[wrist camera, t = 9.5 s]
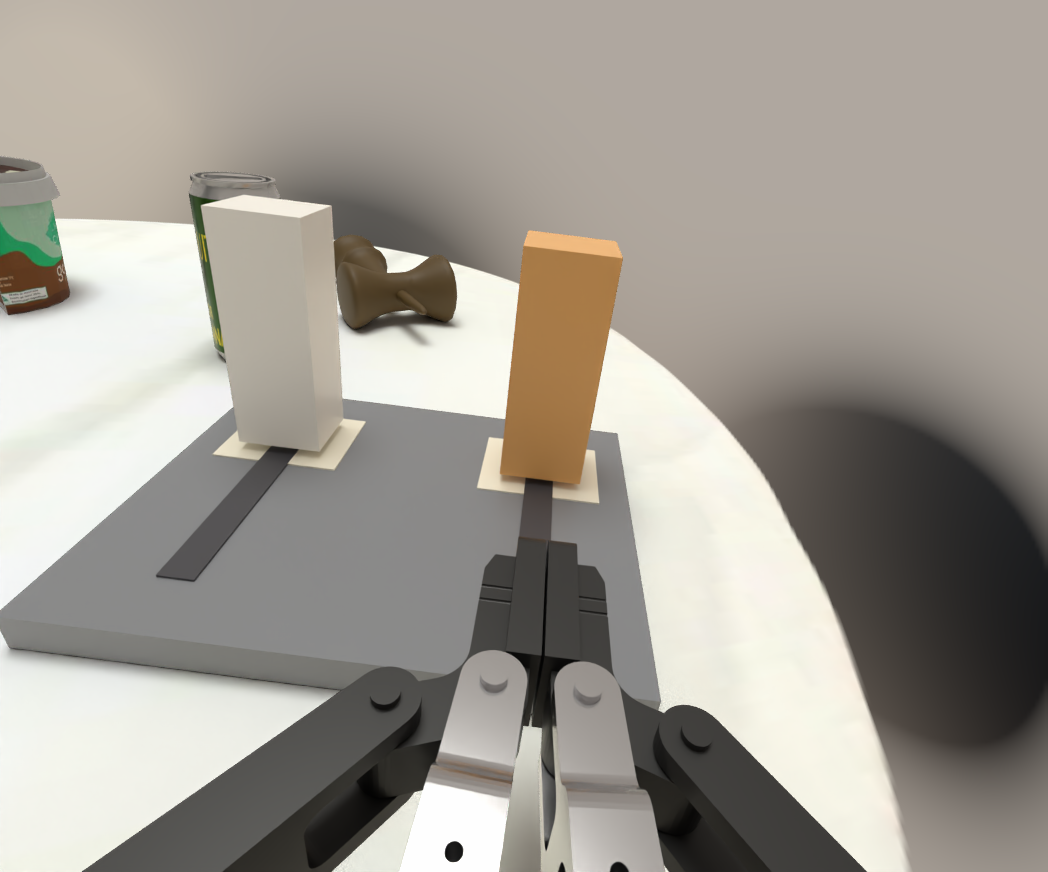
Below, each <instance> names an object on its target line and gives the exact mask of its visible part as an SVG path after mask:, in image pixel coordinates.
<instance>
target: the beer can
mask: <svg viewBox="0 0 1048 872" xmlns="http://www.w3.org/2000/svg"><path fill="white" fill-rule="evenodd" d="M190 179H191V180H192V181H193V182H192V185H191V188H190V191H189V198H190V204H191V209H192V215H193V221H194V227H195V233H196V239H197V244H198V250H199V256H200V262H201V268H202V274H203V280H204V285H205V291H206V297H207V303H208V309H209V315H210V321H211V326H212V332H213V338H214V344H215V348H216V349H217V351H218V352H219V353H220V355H221V356H222V357H223V358H224V359H225V360H226V357H225V351H224V345H223V339H222V333H221V327H220V321H219V314H218V308H217V302H216V296H215V290H214V284H213V278H212V271H211V265H210V259H209V253H208V247H207V241H206V235H205V229H204V222H203V216H202V210H201V205H204V204H208V203H212V202H216V201H220V200H225V199H229V198H233V197H237V196H241V195H250V196H258V197H266V198H273V199H281V197H280V195H279V193H278V191H277V190H276V188H275V185H276V184H275V179H273V178H271V177H267V176H262V175H256V174H248V173H237V172H197V173H192V174H190Z"/></svg>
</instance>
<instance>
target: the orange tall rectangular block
mask: <svg viewBox="0 0 1048 872" xmlns="http://www.w3.org/2000/svg"><path fill="white" fill-rule="evenodd" d="M622 261H623V257H622V255H621V252H620V250H619V247H618V245H617V242H616V241H608V240H601V239H593V238H584V237H576V236H569V235H561V234H552V233H545V232H537V231H528V234H527V237H526V240H525V243H524V247H523V256H522V266H521V276H520V285H519V294H518V304H517V313H516V323H515V333H514V342H513V352H512V361H511V371H510V380H509V390H508V399H507V409H506V418H505V428H504V438H503V447H502V457H501V466H500V474H502V475H510V476H518V477H526V478H534V479H542V480H550V481H557V482H565V483H573V484H580V481H581V476H582V470H583V465H584V460H585V455H586V449H587V444H588V439H589V434H590V428H591V423H592V418H593V413H594V407H595V402H596V397H597V392H598V386H599V381H600V376H601V371H602V366H603V360H604V355H605V350H606V345H607V339H608V334H609V329H610V324H611V318H612V313H613V308H614V302H615V297H616V292H617V287H618V282H619V277H620V271H621V266H622Z"/></svg>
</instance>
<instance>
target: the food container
mask: <svg viewBox="0 0 1048 872" xmlns="http://www.w3.org/2000/svg"><path fill="white" fill-rule="evenodd" d="M58 196H60V193H59V191H58V189H57V187H56V186H55V183H54V182H53V179H52V178H51V176H50V174H49V173H47V172H45V170H44V168H43V165H42V164H40V163H38V162H34V161H30V160H25V159H20V158H12V157H4V156H0V306H1V307H2V309H3V310H4V311H5V312H6V313H7V314H8V315H11V314H18V313H25V312H30V311H34V310H38V309H43V308H47V307H50V306H53V305H55V304H58V303H61V302H63V301H64V300H65V299H67V298H68V297H69V295H70V291H69V286H68V281H67V276H66V271H65V266H64V261H63V256H62V251H61V247H60V242H59V237H58V232H57V227H56V222H55V217H54V212H53V207H52V202H51V200H53V199H55V198H57V197H58Z"/></svg>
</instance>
